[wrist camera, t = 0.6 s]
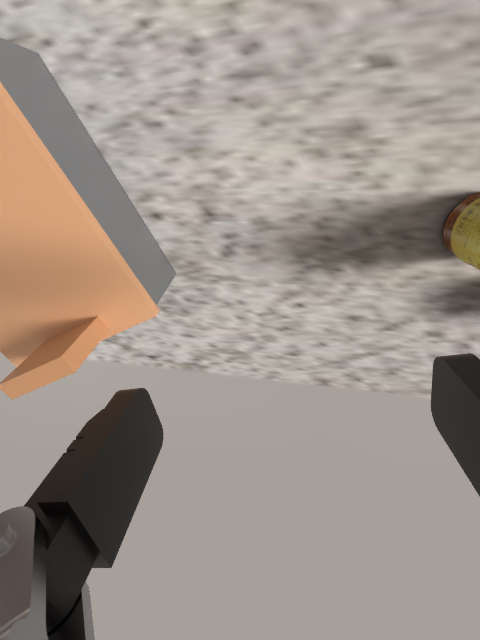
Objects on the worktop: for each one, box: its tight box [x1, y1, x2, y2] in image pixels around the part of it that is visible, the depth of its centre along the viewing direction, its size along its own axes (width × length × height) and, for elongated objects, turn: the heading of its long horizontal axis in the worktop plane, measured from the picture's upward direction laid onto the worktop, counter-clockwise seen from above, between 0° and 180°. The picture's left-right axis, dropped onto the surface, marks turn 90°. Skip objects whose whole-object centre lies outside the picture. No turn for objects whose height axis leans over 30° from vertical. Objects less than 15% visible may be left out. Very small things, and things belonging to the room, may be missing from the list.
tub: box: [0, 38, 176, 305], centre depth 26 cm, size 20×14×8 cm
